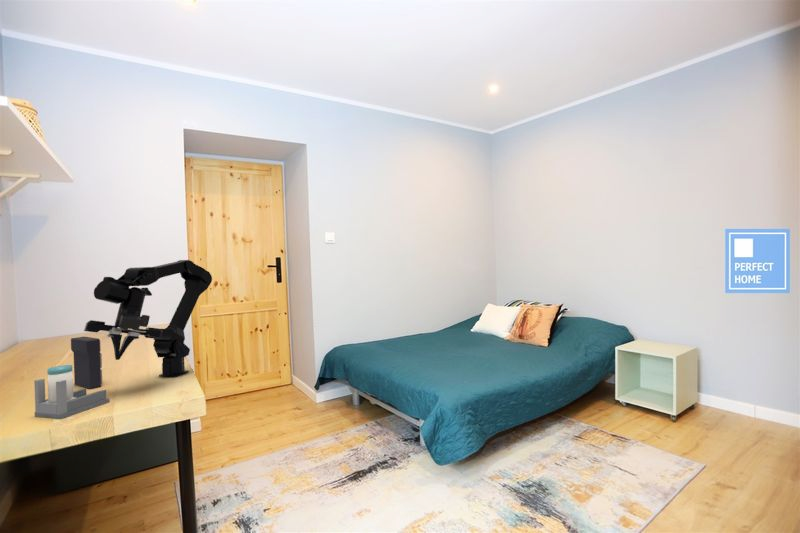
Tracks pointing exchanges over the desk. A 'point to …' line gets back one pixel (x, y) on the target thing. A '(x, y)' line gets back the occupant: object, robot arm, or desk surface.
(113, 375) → the desk surface
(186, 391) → the desk surface
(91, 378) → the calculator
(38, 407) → the mount
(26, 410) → the desk surface
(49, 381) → the teal-lidded white jar
